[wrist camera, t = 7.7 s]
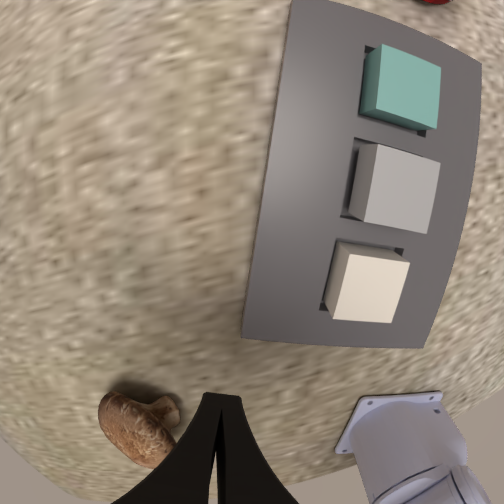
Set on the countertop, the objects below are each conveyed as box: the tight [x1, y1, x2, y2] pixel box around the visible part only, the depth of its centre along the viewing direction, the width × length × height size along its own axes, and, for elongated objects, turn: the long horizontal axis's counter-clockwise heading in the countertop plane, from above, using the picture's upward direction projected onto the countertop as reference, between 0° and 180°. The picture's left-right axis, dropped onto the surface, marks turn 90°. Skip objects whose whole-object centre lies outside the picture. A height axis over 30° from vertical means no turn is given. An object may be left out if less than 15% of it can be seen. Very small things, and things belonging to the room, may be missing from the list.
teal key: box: [359, 44, 441, 131], centre depth 15 cm, size 4×4×3 cm
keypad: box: [241, 0, 482, 348], centre depth 18 cm, size 14×22×2 cm, turn 172°
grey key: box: [348, 144, 441, 234], centre depth 16 cm, size 4×4×3 cm
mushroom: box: [98, 391, 180, 469], centre depth 22 cm, size 8×8×6 cm
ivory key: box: [323, 241, 410, 323], centre depth 19 cm, size 4×4×3 cm
